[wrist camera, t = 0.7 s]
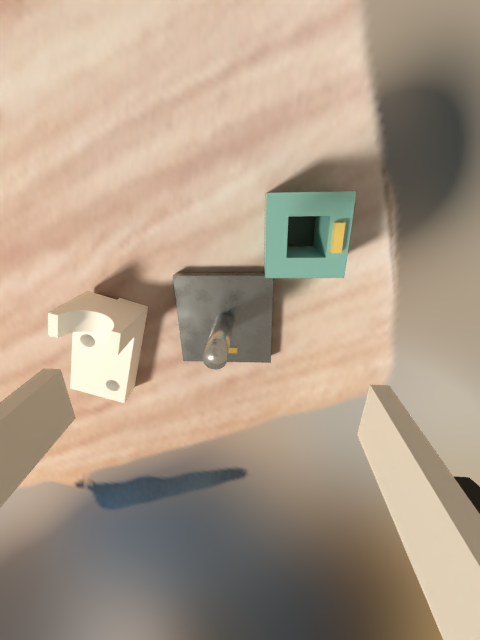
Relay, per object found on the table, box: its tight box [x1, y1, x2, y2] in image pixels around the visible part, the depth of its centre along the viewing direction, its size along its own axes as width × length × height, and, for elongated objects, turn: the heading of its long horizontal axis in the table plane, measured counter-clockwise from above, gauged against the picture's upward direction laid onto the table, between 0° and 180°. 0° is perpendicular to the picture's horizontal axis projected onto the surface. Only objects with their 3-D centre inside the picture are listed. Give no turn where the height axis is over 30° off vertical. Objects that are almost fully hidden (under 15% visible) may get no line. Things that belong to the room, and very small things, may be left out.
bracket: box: [48, 291, 148, 403], centre depth 32 cm, size 13×7×8 cm, turn 163°
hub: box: [264, 191, 357, 278], centre depth 25 cm, size 7×7×7 cm
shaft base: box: [173, 272, 273, 369], centre depth 29 cm, size 11×11×10 cm
